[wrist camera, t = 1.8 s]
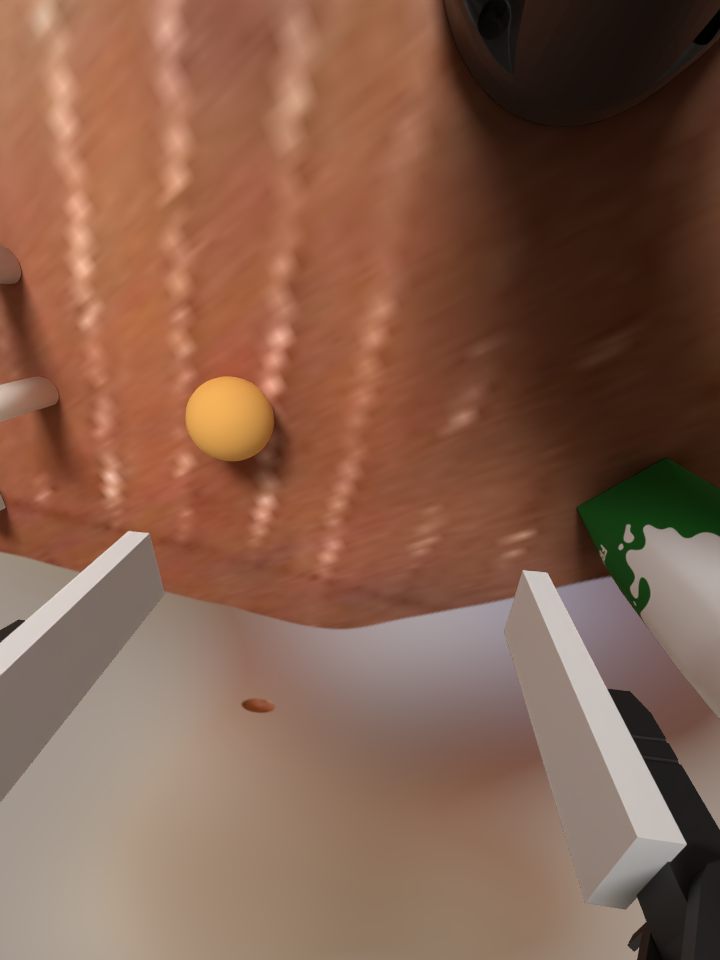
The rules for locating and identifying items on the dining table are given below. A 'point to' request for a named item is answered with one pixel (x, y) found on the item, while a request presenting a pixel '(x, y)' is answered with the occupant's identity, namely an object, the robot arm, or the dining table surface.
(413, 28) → the dining table surface
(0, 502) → the wall
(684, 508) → the milk carton
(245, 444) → the ball
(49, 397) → the pin
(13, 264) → the grey pin
